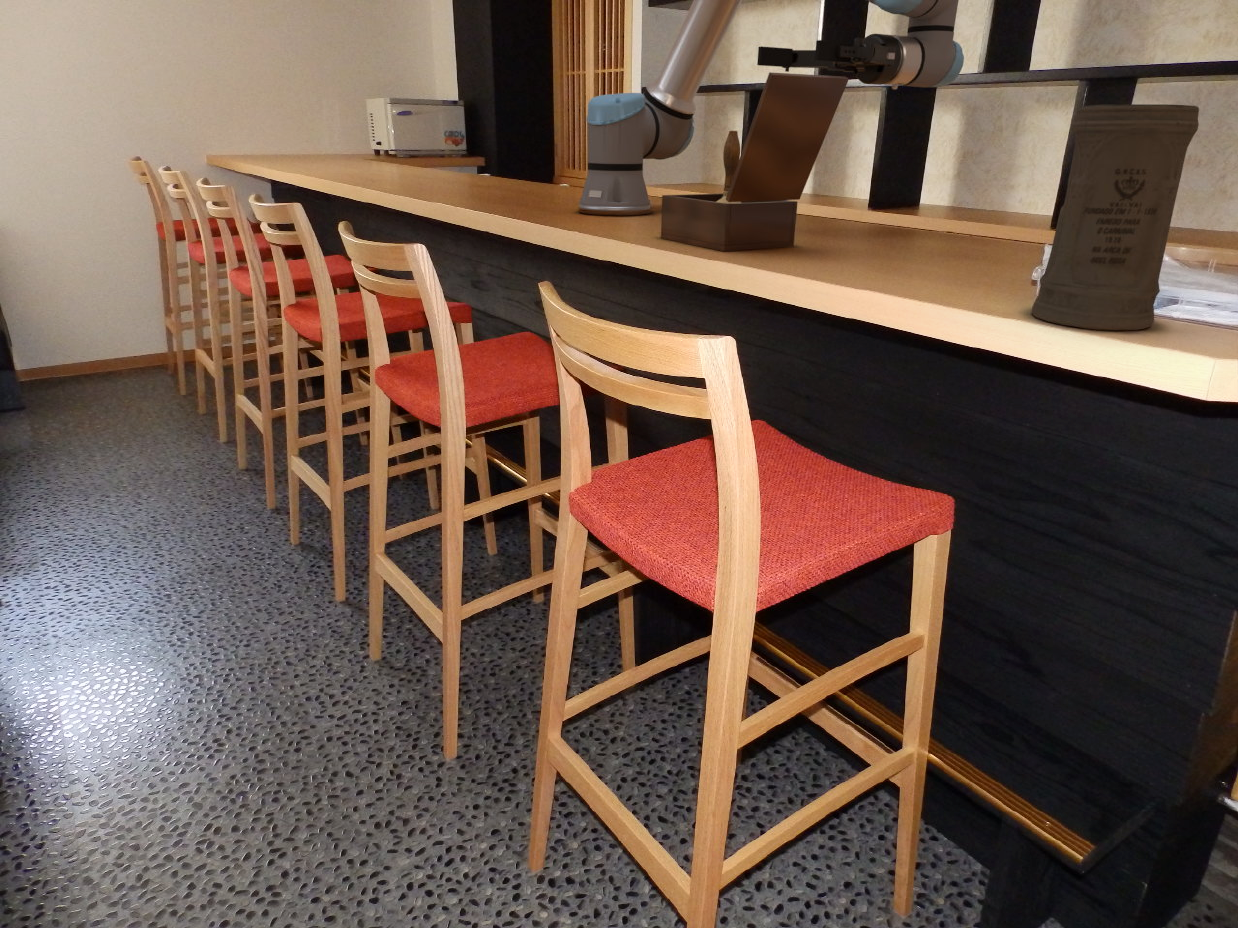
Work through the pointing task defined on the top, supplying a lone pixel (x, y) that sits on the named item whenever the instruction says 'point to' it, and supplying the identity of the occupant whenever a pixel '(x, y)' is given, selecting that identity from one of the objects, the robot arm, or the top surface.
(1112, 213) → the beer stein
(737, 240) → the chest
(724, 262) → the top surface
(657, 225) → the top surface
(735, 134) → the wooden handled brush
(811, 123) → the chest lid
